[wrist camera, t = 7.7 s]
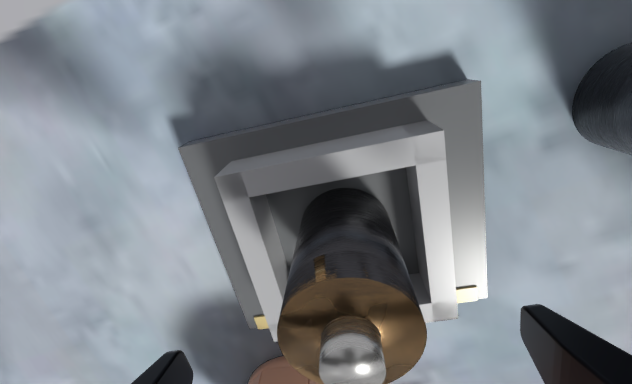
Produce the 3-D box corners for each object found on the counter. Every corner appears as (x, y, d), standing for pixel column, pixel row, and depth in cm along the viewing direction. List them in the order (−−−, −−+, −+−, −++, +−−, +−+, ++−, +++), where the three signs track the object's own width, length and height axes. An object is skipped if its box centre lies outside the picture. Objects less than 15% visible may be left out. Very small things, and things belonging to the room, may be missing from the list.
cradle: (467, 79, 12) (509, 84, 10) (476, 281, 16) (509, 330, 13) (190, 141, 14) (152, 162, 11) (255, 312, 18) (239, 362, 15)
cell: (383, 179, 13) (430, 295, 7) (395, 260, 14) (444, 419, 8) (290, 196, 14) (248, 318, 7) (311, 272, 15) (292, 431, 9)
